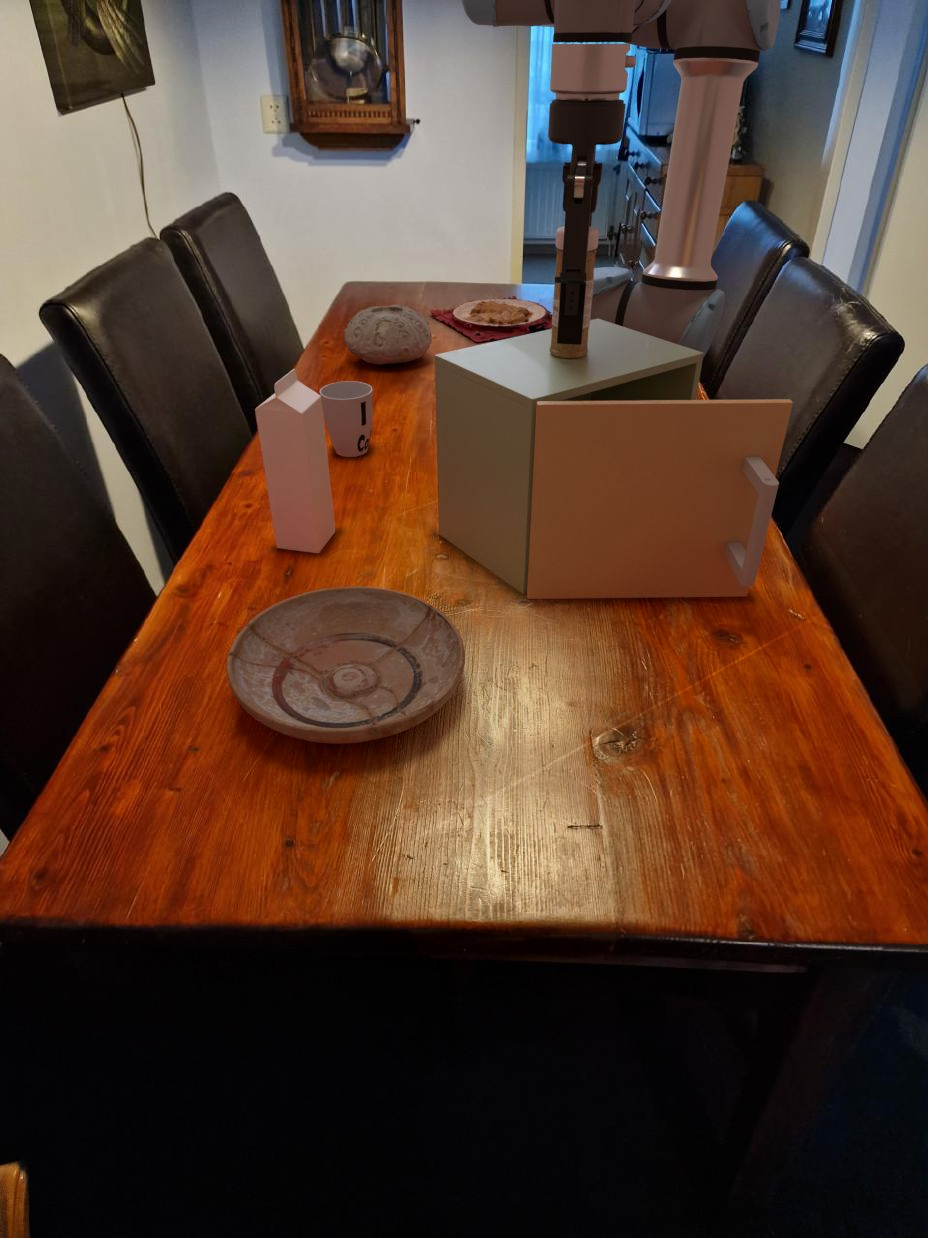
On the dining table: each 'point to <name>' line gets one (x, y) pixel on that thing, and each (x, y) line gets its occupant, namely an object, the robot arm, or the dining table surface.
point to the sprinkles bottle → (582, 349)
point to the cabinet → (529, 425)
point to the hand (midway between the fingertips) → (570, 334)
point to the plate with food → (495, 318)
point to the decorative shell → (388, 334)
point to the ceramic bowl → (346, 664)
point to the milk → (296, 466)
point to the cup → (348, 416)
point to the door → (652, 496)
